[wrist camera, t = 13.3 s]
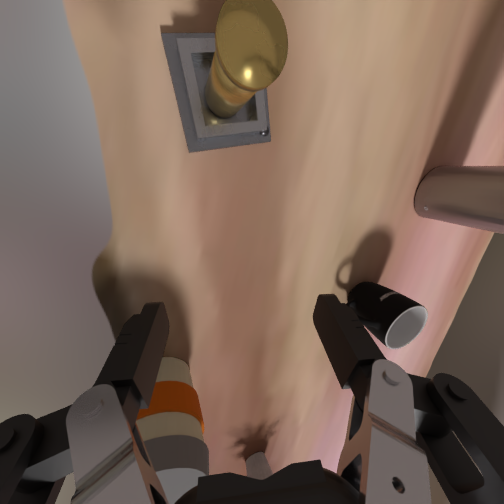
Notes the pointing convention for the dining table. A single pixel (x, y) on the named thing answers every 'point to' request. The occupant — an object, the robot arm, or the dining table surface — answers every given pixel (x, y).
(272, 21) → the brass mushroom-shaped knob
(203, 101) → the square tray with knobs
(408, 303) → the mug
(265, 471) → the house plant
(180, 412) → the reusable coffee cup
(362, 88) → the dining table surface
